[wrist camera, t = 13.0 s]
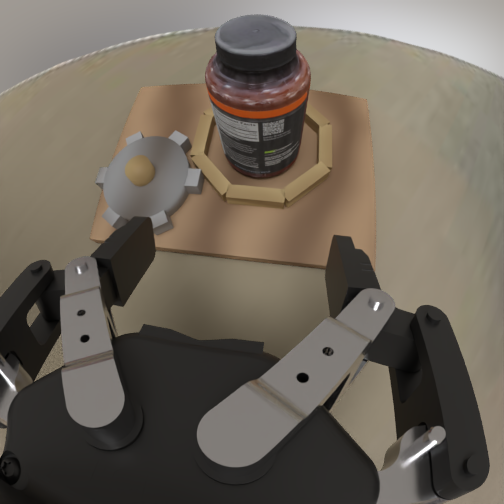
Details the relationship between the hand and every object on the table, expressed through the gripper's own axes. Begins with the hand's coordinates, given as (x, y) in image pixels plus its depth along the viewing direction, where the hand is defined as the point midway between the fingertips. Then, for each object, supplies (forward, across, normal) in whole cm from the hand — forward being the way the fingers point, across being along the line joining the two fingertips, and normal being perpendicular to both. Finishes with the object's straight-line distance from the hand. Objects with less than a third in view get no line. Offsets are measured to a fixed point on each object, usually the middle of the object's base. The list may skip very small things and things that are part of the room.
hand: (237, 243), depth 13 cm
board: (+12, +2, 0) cm, 13 cm away
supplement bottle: (+12, 0, -1) cm, 12 cm away
